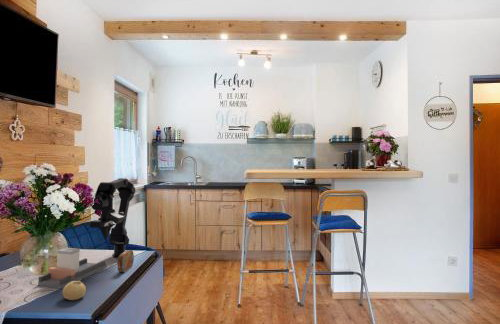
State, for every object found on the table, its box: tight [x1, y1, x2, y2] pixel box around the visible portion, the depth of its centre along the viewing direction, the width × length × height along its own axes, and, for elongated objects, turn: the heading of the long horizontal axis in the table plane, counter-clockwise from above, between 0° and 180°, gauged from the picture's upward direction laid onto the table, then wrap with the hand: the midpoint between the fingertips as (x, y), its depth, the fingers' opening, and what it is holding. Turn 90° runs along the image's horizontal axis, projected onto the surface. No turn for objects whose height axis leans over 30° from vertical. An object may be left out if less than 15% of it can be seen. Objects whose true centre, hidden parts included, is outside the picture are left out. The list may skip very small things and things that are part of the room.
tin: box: [116, 249, 135, 273], centre depth 168 cm, size 15×3×8 cm, turn 179°
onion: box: [61, 279, 87, 301], centre depth 133 cm, size 8×8×7 cm
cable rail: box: [37, 257, 107, 290], centre depth 157 cm, size 28×12×6 cm, turn 167°
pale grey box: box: [56, 247, 81, 273], centre depth 153 cm, size 5×7×11 cm
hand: (106, 238), depth 174 cm, fingers closed
